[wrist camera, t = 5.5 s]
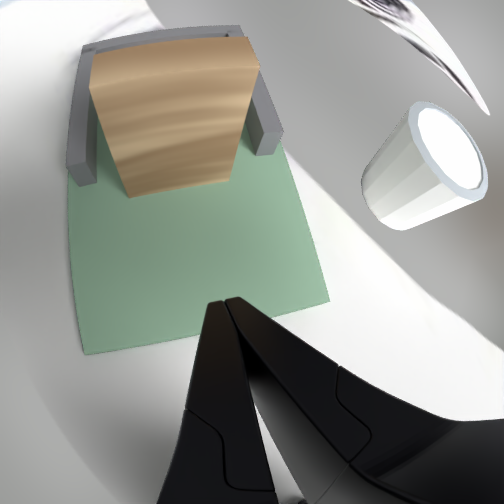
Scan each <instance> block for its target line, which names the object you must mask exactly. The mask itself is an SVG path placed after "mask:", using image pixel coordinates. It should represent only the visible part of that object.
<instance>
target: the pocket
mask: <svg viewBox="0 0 504 504" xmlns="http://www.w3.org/2000/svg"><path fill="white" fill-rule="evenodd" d="M211 37H245V36H244V34H243V32H242V30H241V28H240V26H239V25H225V26H223V25H222V26H199V27H187V28H175V29H166V30H158V31H151V32H145V33H138V34H133V35H127V36H122V37H117V38H112V39H108V40H103V41H99V42H95V43H91V44H87V45H83V48H82V52H81V57H80V61H79V66H78V71H77V76H76V81H75V87H74V93H73V100H72V107H71V114H70V122H69V132H68V143H67V156H66V168H67V169H68V171H69V172H70V174H71V175H72V177H73V178H74V180H75V182H76V183H77V185H78V186H79V187H82V186H86V185H90V184H94V183H97V120H98V115H97V112H96V109H95V105H94V102H93V99H92V96H91V93H90V90H89V83H90V76H91V69H92V62H93V56H94V55H95V54H100V53H104V52H108V51H113V50H117V49H122V48H128V47H133V46H139V45H145V44H151V43H158V42H166V41H174V40H184V39H196V38H211ZM245 123H246V127H247V130H248V133H249V136H250V140H251V143H252V146H253V149H254V153H255V156H263V155H273V154H274V152H275V150H276V148H277V145H278V143H279V141H280V139H281V137H282V134H283V132H284V131H283V128H282V126H281V123H280V120H279V118H278V115H277V113H276V110H275V108H274V105H273V103H272V100H271V97H270V95H269V92H268V90H267V88H266V85H265V83H264V80H263V78H262V75H261V73H260V71H259V72H258V76H257V79H256V82H255V86H254V89H253V93H252V96H251V100H250V104H249V107H248V111H247V114H246V118H245Z"/></svg>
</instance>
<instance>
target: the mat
mask: <svg viewBox="0 0 504 504" xmlns="http://www.w3.org/2000/svg"><path fill="white" fill-rule="evenodd" d="M68 230H69V248H70V261H71V272H72V281H73V290H74V297H75V304H76V311H77V317H78V323H79V329H80V334H81V339H82V344H83V349H84V354H85V355H90V354H96V353H103V352H109V351H116V350H122V349H128V348H133V347H139V346H145V345H150V344H155V343H161V342H166V341H171V340H176V339H181V338H186V337H191V336H195V335H200V334H201V329H202V325H203V320H204V316H205V311H206V307H207V304H208V303H209V302H213V301H218V300H223V301H225V299H227V298H232V297H237V296H239V297H242V298H243V299H244V300H246V301H247V302H249V303H250V304H251V305H253V306H254V307H256V308H257V309H258V310H260V311H261V312H263V313H264V314H266V315H267V316H268V317H270V318H272V317H276V316H280V315H283V314H287V313H291V312H295V311H298V310H302V309H306V308H309V307H313V306H316V305H320V304H323V303H327V302H330V299H329V295H328V291H327V288H326V284H325V280H324V277H323V273H322V270H321V266H320V263H319V259H318V256H317V252H316V249H315V246H314V242H313V239H312V236H311V232H310V229H309V226H308V223H307V219H306V216H305V213H304V210H303V207H302V204H301V200H300V197H299V194H298V191H297V188H296V185H295V182H294V179H293V176H292V173H291V170H290V167H289V164H288V161H287V159H286V156H285V153H284V150H283V147H282V144H281V141H279V143H278V145H277V148H276V150H275V152H274V154H273V155H263V156H255V153H254V149H253V146H252V143H251V140H250V136H249V133H248V130H247V127H246V123H245V122H244V126H243V129H242V133H241V137H240V140H239V144H238V148H237V152H236V156H235V160H234V163H233V167H232V171H231V175H230V179H229V181H225V182H219V183H212V184H206V185H199V186H193V187H187V188H181V189H176V190H170V191H164V192H159V193H154V194H149V195H143V196H138V197H133V198H129V197H128V195H127V192H126V190H125V187H124V185H123V182H122V180H121V177H120V175H119V172H118V170H117V167H116V165H115V162H114V159H113V157H112V154H111V151H110V149H109V146H108V143H107V140H106V138H105V135H104V132H103V129H102V126H101V123H100V120H99V118H98V120H97V183H94V184H90V185H86V186H82V187H79V186H78V185H77V183H76V182H75V180H74V178H73V177H72V175H71V174H70V172H69V171H68Z"/></svg>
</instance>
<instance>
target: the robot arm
mask: <svg viewBox="0 0 504 504" xmlns="http://www.w3.org/2000/svg"><path fill="white" fill-rule="evenodd" d="M253 401H254V402H253ZM254 403H255V405H256V407H257V409H258V411H259V413H260V415H261V417H262V419H263V421H264V423H265V425H266V427H267V429H268V431H269V433H270V435H271V437H272V439H273V441H274V443H275V444H276V446H277V448H278V450H279V452H280V454H281V456H282V458H283V460H284V461H285V463H286V465H287V467H288V469H289V471H290V473H291V474H292V476H293V478H294V480H295V482H296V483H297V485H298V487H299V489H300V490H301V492H302V494H303V496H304V497H305V499H306V500H303V501H301V502H299V503H298V504H504V419H495V420H481V421H455V420H450V419H446V418H442V417H439V416H437V415H434V414H432V413H430V412H427V411H425V410H423V409H421V408H418V407H416V406H414V405H412V404H410V403H407V402H405V401H403V400H401V399H399V398H397V397H395V396H392V395H390V394H388V393H387V392H385V391H383V390H381V389H379V388H377V387H375V386H373V385H371V384H369V383H368V382H366V381H364V380H363V379H361V378H359V377H358V376H356V375H354V374H353V373H351V372H350V371H348V370H347V369H345V368H344V367H342V366H339V367H338V364H337V363H336V362H334V361H333V360H331V359H330V358H328V357H327V356H325V355H324V354H322V353H321V352H319V351H318V350H316V349H315V348H313V347H312V346H310V345H309V344H307V343H306V342H305V341H303V340H302V339H300V338H299V337H297V336H296V335H294V334H293V333H291V332H290V331H288V330H287V329H286V328H284V327H283V326H281V325H280V324H278V323H277V322H276V321H274V320H273V319H271V318H270V317H268V316H267V315H266V314H264V313H263V312H261V311H260V310H258V309H257V308H256V307H254V306H253V305H251V304H250V303H249V302H247V301H246V300H244V299H243V298H242V297H239V296H237V297H232V298H227V299H225V301H223V300H218V301H213V302H209V303H208V304H207V307H206V311H205V316H204V320H203V325H202V329H201V334H200V338H199V343H198V347H197V352H196V356H195V361H194V365H193V370H192V375H191V380H190V384H189V389H188V394H187V399H186V404H185V410H184V413H183V418H182V423H181V427H180V431H179V436H178V440H177V444H176V447H175V451H174V454H173V457H172V460H171V464H170V467H169V470H168V472H167V475H166V478H165V481H164V484H163V486H162V489H161V492H160V495H159V498H158V501H157V503H156V504H279V502H278V499H277V495H276V493H275V487H274V483H273V480H272V476H271V472H270V468H269V464H268V460H267V456H266V452H265V448H264V444H263V440H262V435H261V431H260V427H259V423H258V419H257V414H256V410H255V406H254Z"/></svg>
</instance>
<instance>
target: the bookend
mask: <svg viewBox="0 0 504 504" xmlns="http://www.w3.org/2000/svg"><path fill="white" fill-rule="evenodd" d="M259 69H260V64H259V62H258V60H257V57H256V55H255V53H254V51H253V48H252V46H251V44H250V42H249V39H248V37H211V38H196V39H184V40H174V41H166V42H158V43H151V44H145V45H139V46H133V47H128V48H122V49H117V50H113V51H108V52H104V53H100V54H95V55H94V56H93V62H92V69H91V76H90V83H89V90H90V93H91V96H92V99H93V102H94V105H95V109H96V112H97V115H98V118H99V120H100V123H101V126H102V129H103V132H104V135H105V138H106V140H107V143H108V146H109V149H110V151H111V154H112V157H113V159H114V162H115V165H116V167H117V170H118V172H119V175H120V177H121V180H122V182H123V185H124V187H125V190H126V192H127V195H128V197H129V198H133V197H138V196H143V195H149V194H154V193H159V192H164V191H170V190H176V189H181V188H187V187H193V186H199V185H206V184H212V183H219V182H225V181H229V179H230V175H231V171H232V167H233V163H234V160H235V156H236V152H237V148H238V144H239V140H240V137H241V133H242V129H243V126H244V122H245V118H246V114H247V111H248V107H249V104H250V100H251V96H252V93H253V89H254V86H255V82H256V79H257V76H258V72H259Z"/></svg>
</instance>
